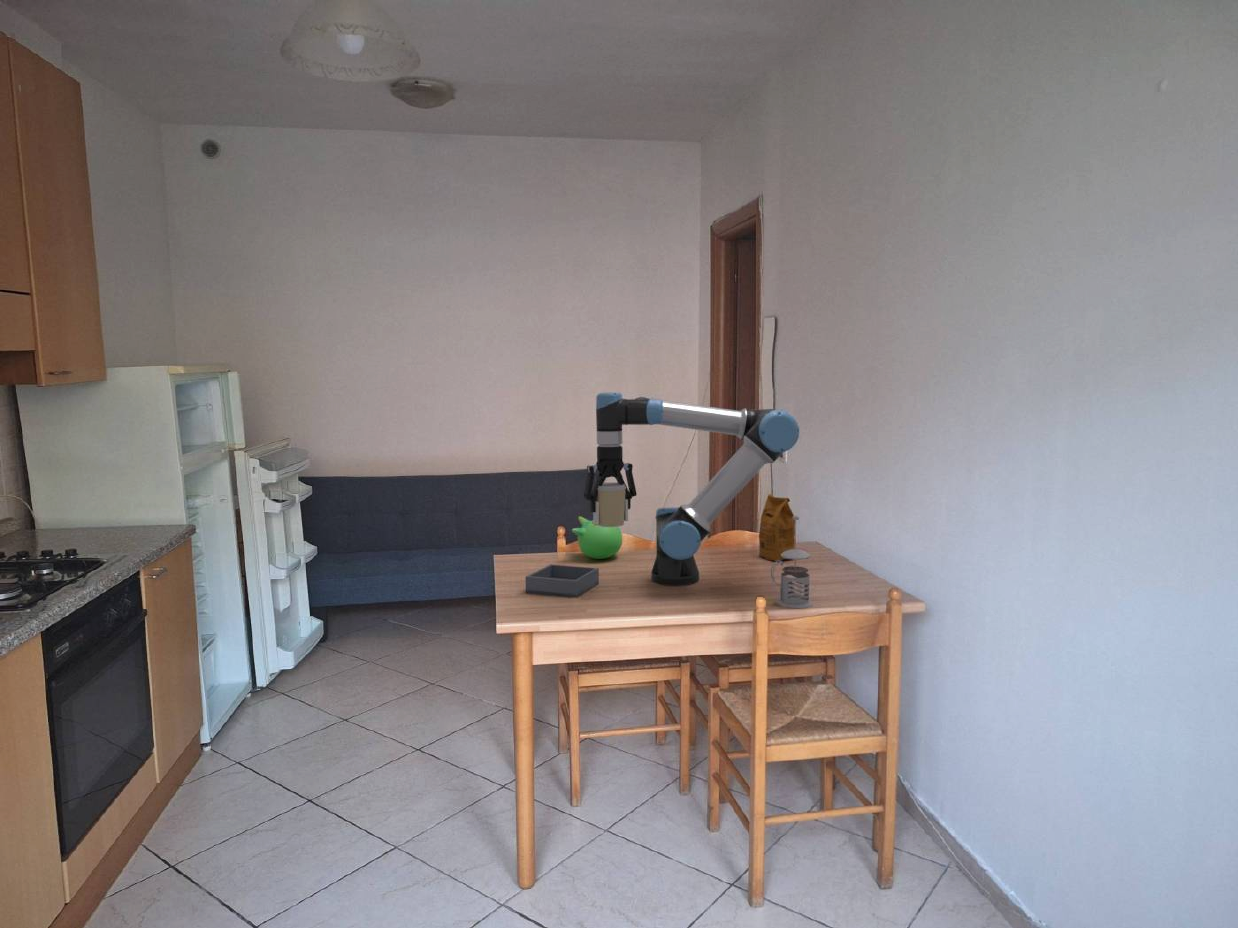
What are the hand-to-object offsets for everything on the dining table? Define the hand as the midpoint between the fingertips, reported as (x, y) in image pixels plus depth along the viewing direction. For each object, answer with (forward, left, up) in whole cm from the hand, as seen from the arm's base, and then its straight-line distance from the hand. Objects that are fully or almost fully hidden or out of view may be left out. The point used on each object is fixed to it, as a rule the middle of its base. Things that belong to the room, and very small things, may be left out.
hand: (610, 521), depth 239 cm
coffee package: (-37, -60, -22) cm, 74 cm away
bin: (+16, +1, -21) cm, 27 cm away
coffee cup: (0, 0, -1) cm, 1 cm away
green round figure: (+22, -40, -22) cm, 50 cm away
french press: (-52, -6, -22) cm, 57 cm away
